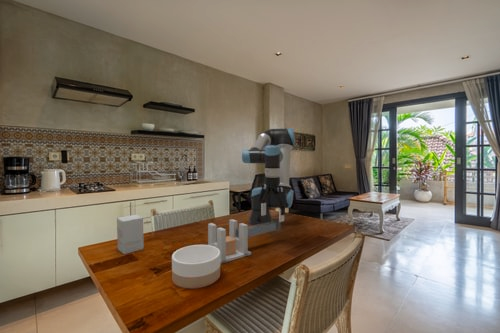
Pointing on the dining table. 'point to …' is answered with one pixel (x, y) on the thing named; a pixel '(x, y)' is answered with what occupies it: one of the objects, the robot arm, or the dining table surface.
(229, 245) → the block
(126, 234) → the supplement box
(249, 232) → the shaft
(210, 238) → the bracket
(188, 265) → the bowl
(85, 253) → the dining table surface
